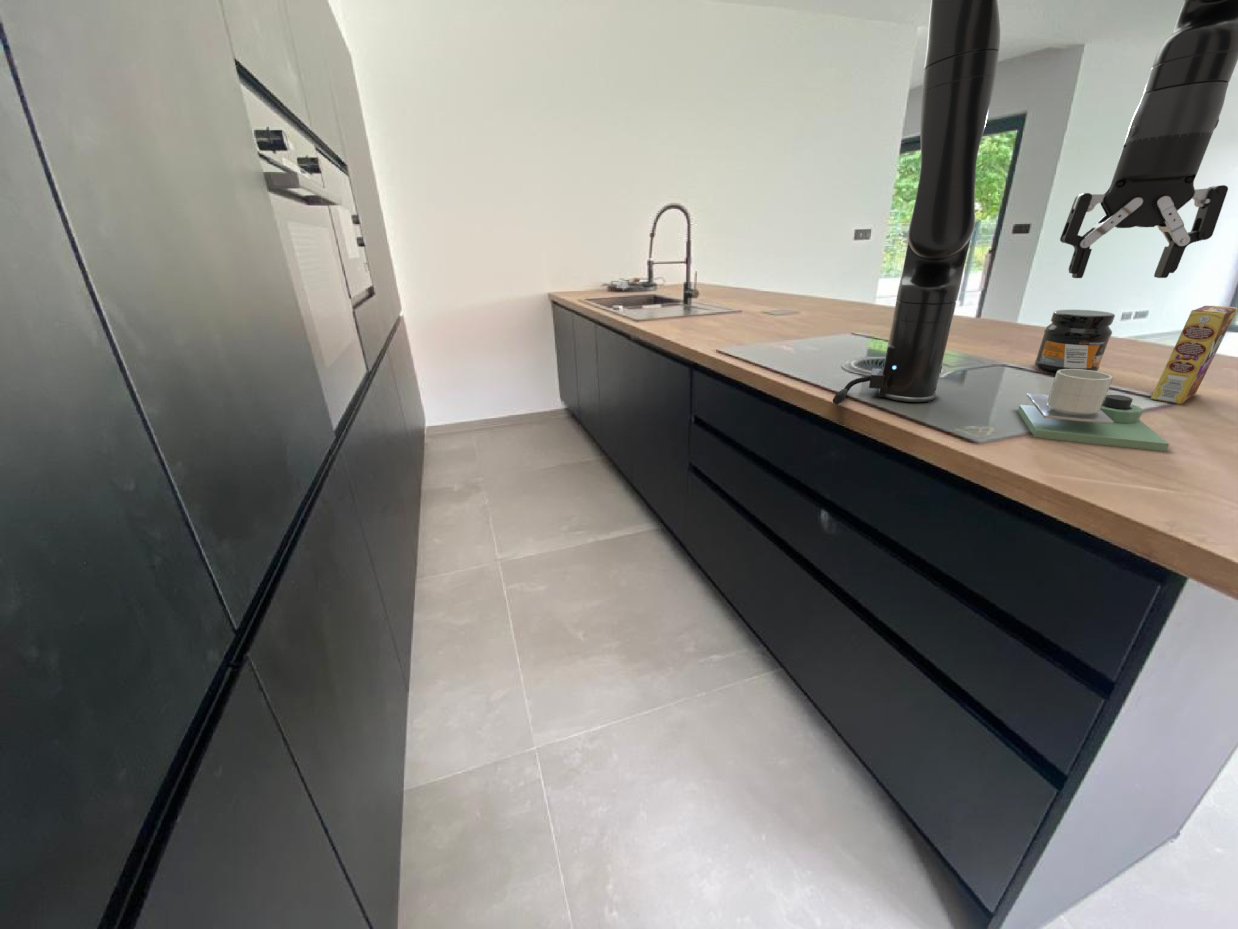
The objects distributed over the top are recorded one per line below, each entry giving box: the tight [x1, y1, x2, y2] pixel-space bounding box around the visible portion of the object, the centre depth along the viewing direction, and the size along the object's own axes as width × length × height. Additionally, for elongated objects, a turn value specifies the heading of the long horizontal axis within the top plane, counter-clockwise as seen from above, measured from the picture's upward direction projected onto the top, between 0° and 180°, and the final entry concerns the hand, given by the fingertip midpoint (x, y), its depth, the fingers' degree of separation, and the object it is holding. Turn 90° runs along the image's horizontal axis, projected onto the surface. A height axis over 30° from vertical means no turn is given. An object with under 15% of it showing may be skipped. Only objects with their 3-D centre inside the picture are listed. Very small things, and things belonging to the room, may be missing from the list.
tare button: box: [1103, 394, 1133, 410], centre depth 77 cm, size 3×3×2 cm
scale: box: [1017, 402, 1170, 452], centre depth 76 cm, size 14×14×3 cm
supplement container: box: [1034, 309, 1116, 375], centre depth 104 cm, size 10×10×12 cm
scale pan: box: [1026, 392, 1114, 424], centre depth 77 cm, size 8×12×1 cm, turn 153°
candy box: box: [1150, 305, 1238, 405], centre depth 85 cm, size 9×4×15 cm, turn 123°
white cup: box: [1046, 369, 1114, 415], centre depth 74 cm, size 6×6×6 cm
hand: (1117, 277), depth 67 cm, fingers open, 8 cm apart
